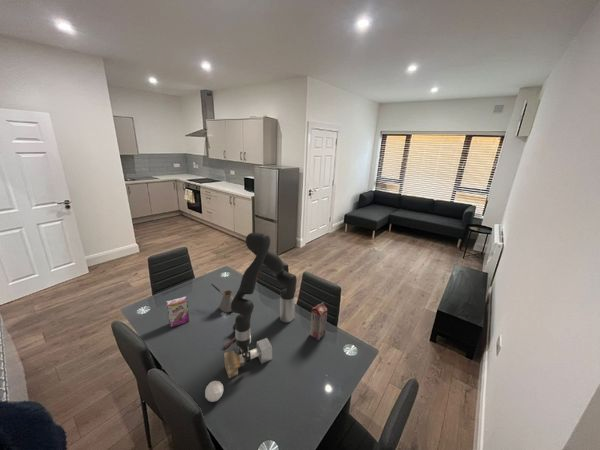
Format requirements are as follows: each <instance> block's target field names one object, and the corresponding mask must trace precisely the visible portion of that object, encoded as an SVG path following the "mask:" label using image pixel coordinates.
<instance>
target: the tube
mask: <svg viewBox="0 0 600 450" xmlns="http://www.w3.org/2000/svg"><path fill="white" fill-rule="evenodd" d="M249 352H250V355H251V360H252V359H255V358H257V357H258V356H260V355H261V351H260V349H259V347H258V348H257V347H256V348H253V349H251V350H249ZM234 353H235V356H236V358H237V361H238V369H239V368H240V367H241V365H240V364H242V363H243V364H244V358H243V357H242V354H240V355H239V354H237V352H234ZM243 355H245V354H243Z"/></svg>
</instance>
